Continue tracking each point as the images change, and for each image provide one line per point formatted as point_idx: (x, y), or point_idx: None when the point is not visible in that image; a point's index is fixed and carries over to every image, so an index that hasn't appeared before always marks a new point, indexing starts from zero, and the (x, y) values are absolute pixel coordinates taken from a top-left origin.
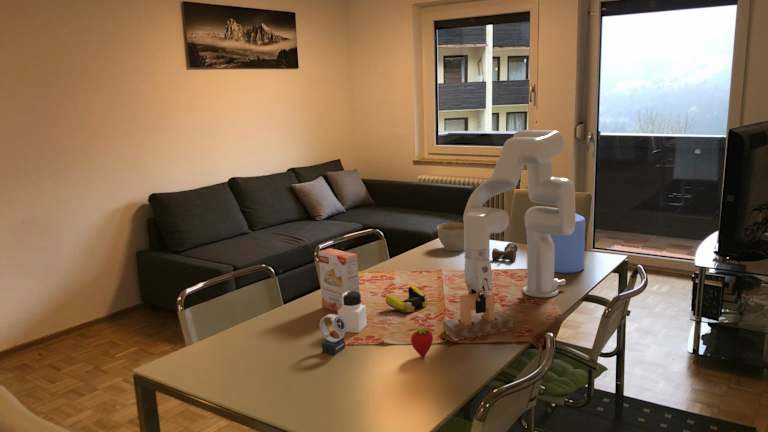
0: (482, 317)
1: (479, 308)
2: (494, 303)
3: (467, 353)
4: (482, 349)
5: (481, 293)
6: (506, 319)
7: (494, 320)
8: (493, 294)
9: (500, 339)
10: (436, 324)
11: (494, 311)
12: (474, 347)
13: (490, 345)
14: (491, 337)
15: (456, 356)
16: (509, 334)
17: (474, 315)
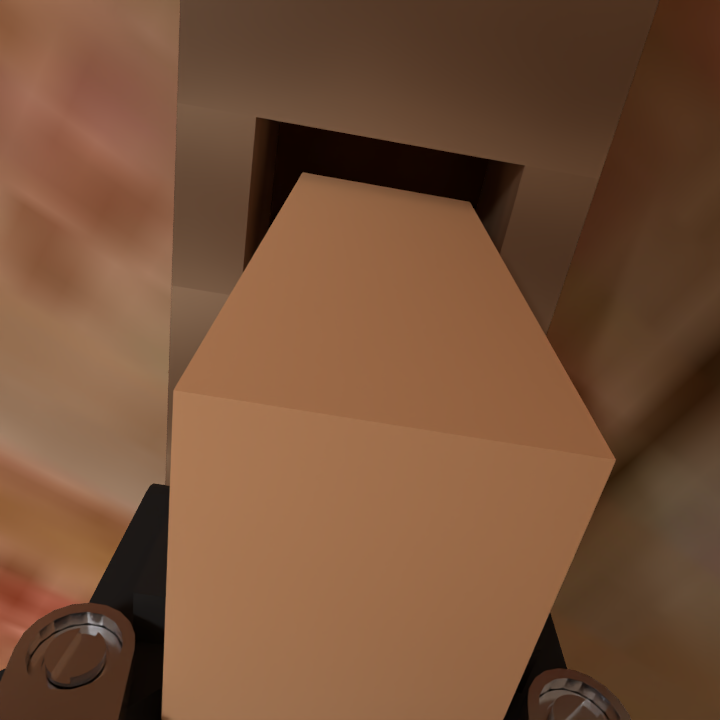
0: (249, 256)
1: None
2: (533, 316)
3: (664, 650)
4: (706, 544)
5: (256, 672)
6: (608, 37)
7: (472, 209)
8: (583, 479)
9: (691, 293)
10: (3, 537)
11: (497, 253)
12: (626, 566)
13: (707, 453)
14: (581, 334)
15: (639, 714)
16: (679, 105)
17: (170, 341)
